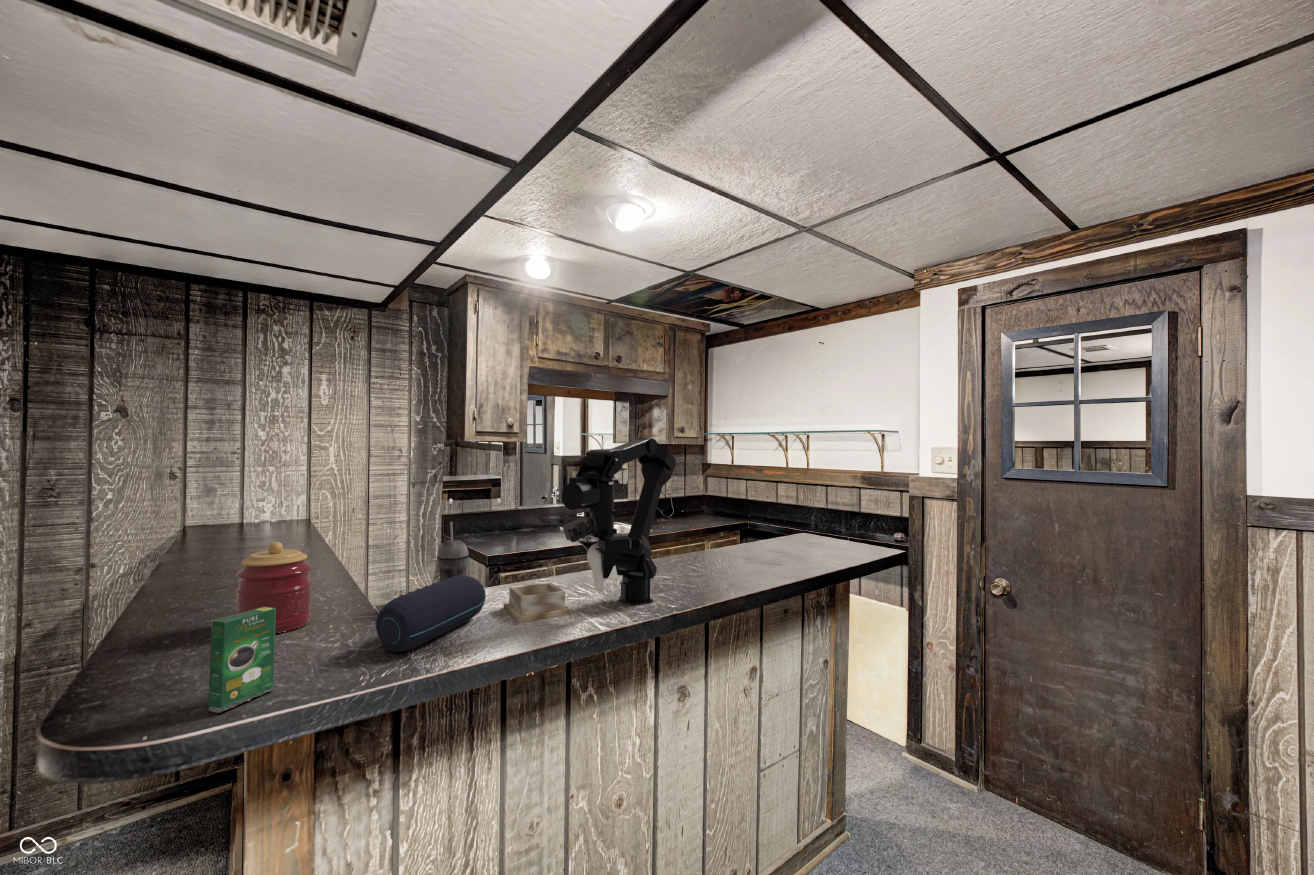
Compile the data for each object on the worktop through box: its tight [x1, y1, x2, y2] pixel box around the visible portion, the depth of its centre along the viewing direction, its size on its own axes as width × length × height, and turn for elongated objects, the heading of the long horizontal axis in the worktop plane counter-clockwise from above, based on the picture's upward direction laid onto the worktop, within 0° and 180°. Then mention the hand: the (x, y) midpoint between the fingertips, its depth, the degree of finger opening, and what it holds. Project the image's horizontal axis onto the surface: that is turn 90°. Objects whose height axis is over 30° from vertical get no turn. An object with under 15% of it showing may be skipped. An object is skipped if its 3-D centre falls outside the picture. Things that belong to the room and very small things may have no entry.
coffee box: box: [208, 607, 276, 708], centre depth 81 cm, size 8×3×13 cm, turn 163°
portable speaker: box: [375, 575, 486, 653], centre depth 110 cm, size 25×10×10 cm, turn 164°
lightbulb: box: [586, 543, 608, 593], centre depth 122 cm, size 6×6×11 cm
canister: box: [235, 541, 313, 633], centre depth 114 cm, size 13×13×18 cm
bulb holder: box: [503, 581, 572, 623], centre depth 126 cm, size 12×12×5 cm
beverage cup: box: [436, 521, 470, 581], centre depth 130 cm, size 7×7×20 cm
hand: (600, 575), depth 122 cm, fingers closed on lightbulb, 5 cm apart
